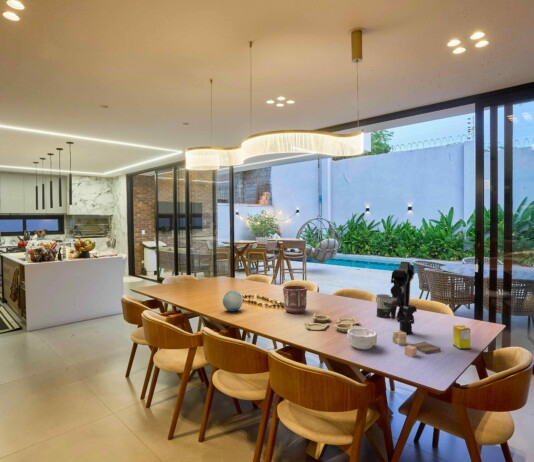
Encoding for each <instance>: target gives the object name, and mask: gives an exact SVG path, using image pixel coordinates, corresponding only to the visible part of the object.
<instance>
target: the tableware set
mask: <svg viewBox="0 0 534 462" xmlns="http://www.w3.org/2000/svg"><path fill="white" fill-rule="evenodd" d="M311 319H312V320H315V321H316V322H315V323H314V322H313V323H311V322H304V323H303V324H304V325H305V328H306V329H308V330H311V331H322V330H326V329H327V327H328V326H330V323H327V321H328V320H330V319H331V316H329V315H325V314H317V313H316V312H314V313H313V316H311ZM322 323H325V324H322ZM357 324H358V325H360V324H361V322H360V321H358V320H357V319H356V317H352V318H341V317H338V318H337V319H336V321H335V324H334V325H333V326H334V328H335V329H337V330H338V331H339V332H341V333H347V331H348V330H349V329H352V328H355V327H354V326H355V325H357Z"/></svg>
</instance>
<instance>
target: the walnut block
mask: <svg viewBox="0 0 534 462" xmlns="http://www.w3.org/2000/svg"><path fill="white" fill-rule="evenodd" d="M410 346H414V347H417V351H418V352H421V353H422V354H425V355H427V354H431V353H437V352H441V347H440V346H439V347H438V346H436V345H434V344H432V343H429V342H426V341H421V342H416V343H412V344H411V343H410Z"/></svg>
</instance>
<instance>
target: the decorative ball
mask: <svg viewBox="0 0 534 462" xmlns="http://www.w3.org/2000/svg"><path fill="white" fill-rule="evenodd" d="M243 302H244V300H243V296H242V294H241V293H239V292H238V291H236V290H235V291H234V290H231V291H227V292H226V293H225V294H224V296H223V298H222V305H223V307H224V308H225V310H227V311H229V312H237V311H238V310H240V309H241V307H242V306H243Z"/></svg>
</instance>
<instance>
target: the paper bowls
mask: <svg viewBox="0 0 534 462" xmlns="http://www.w3.org/2000/svg"><path fill="white" fill-rule="evenodd" d="M377 334H378V333H377V332H376V331H375V330H372V329H369V328H364V327H363V328H362V327H353V328H352V329H349V330H348V331H347V332H346V335H347V336H346V337H347V338H346V339H347V342H349V343H350V344H351V346H352V347H353V348H356V349H358V350H370V349H371V348H372V347H373V346H375V345H377V343H378V342H377V341H378V337H377V336H378V335H377Z"/></svg>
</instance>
